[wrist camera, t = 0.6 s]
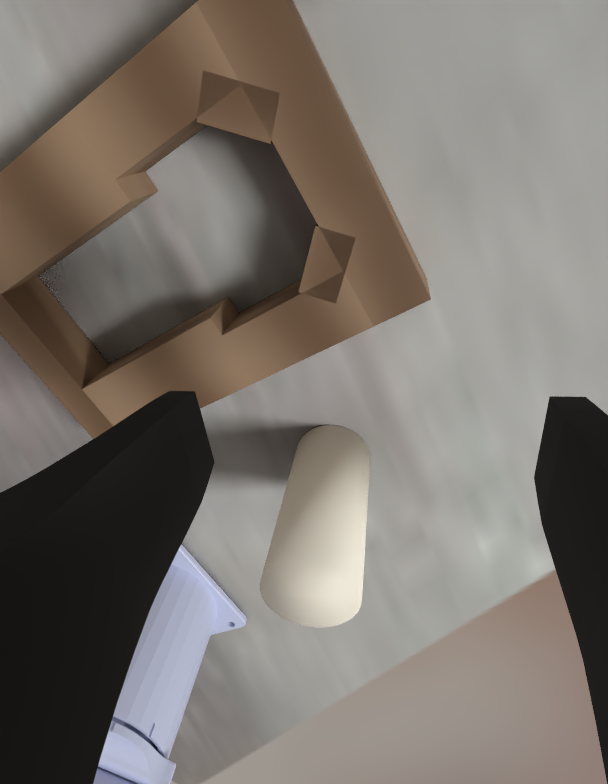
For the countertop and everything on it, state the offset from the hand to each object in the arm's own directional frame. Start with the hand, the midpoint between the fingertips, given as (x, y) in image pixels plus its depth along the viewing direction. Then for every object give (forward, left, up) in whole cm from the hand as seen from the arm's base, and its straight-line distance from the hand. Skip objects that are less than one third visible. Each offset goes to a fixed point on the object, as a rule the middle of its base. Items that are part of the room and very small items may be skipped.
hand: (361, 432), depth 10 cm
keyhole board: (-6, +5, -11) cm, 13 cm away
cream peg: (-6, -7, -11) cm, 14 cm away
